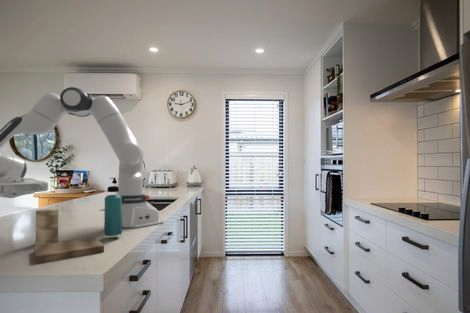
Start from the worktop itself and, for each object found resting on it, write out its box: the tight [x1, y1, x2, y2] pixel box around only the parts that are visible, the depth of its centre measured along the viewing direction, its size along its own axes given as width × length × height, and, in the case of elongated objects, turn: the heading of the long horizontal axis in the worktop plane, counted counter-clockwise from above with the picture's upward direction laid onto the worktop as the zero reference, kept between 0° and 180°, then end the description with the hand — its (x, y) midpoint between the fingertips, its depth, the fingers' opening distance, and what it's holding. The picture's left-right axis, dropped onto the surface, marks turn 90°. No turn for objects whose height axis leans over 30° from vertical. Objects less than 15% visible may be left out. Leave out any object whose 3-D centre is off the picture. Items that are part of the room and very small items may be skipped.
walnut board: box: [33, 236, 105, 265], centre depth 92 cm, size 18×14×2 cm
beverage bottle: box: [103, 185, 123, 237], centre depth 110 cm, size 6×7×20 cm
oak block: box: [35, 208, 59, 246], centre depth 102 cm, size 5×5×12 cm
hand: (28, 188), depth 108 cm, fingers open, 8 cm apart
